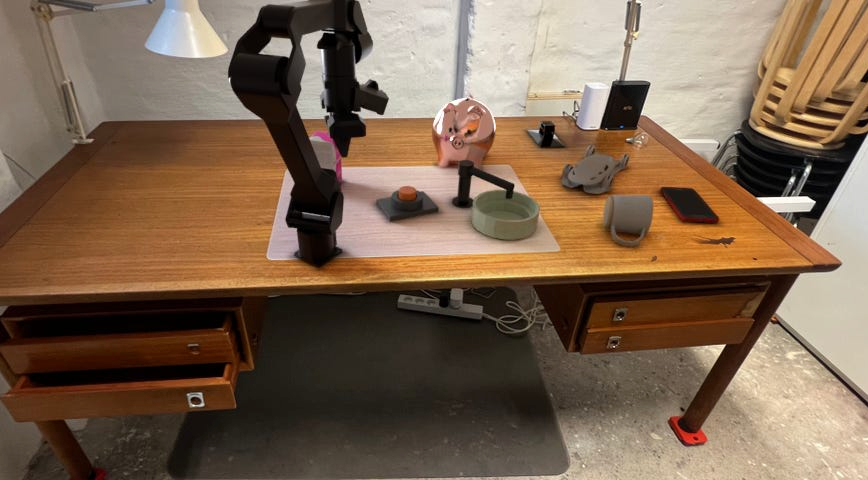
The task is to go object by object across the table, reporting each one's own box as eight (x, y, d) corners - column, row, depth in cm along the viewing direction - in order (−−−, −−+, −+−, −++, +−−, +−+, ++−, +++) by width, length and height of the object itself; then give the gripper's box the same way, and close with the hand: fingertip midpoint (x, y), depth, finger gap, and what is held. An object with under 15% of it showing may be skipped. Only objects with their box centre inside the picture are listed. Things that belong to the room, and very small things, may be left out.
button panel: (389, 221, 103) (389, 209, 102) (376, 204, 109) (376, 191, 108) (438, 212, 107) (439, 199, 105) (422, 195, 113) (423, 183, 111)
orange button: (402, 202, 105) (402, 195, 104) (396, 194, 107) (396, 187, 106) (418, 199, 106) (418, 192, 105) (411, 192, 109) (411, 184, 108)
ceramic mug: (599, 218, 107) (608, 185, 102) (639, 222, 106) (650, 189, 101) (605, 246, 98) (615, 211, 94) (649, 250, 97) (661, 216, 93)
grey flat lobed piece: (629, 166, 129) (635, 147, 126) (599, 202, 113) (604, 182, 110) (587, 155, 134) (591, 136, 131) (552, 188, 118) (556, 168, 115)
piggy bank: (423, 172, 123) (426, 106, 113) (438, 144, 137) (442, 84, 128) (486, 180, 120) (494, 114, 111) (495, 151, 134) (503, 90, 125)
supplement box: (335, 191, 113) (331, 142, 107) (310, 188, 114) (305, 140, 108) (343, 180, 118) (340, 133, 111) (319, 177, 119) (315, 130, 112)
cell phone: (682, 222, 106) (683, 218, 106) (658, 190, 118) (659, 186, 118) (719, 224, 106) (721, 220, 105) (691, 191, 118) (693, 187, 117)
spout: (454, 177, 107) (455, 162, 105) (464, 173, 109) (465, 158, 107) (506, 201, 99) (509, 185, 97) (516, 196, 101) (519, 180, 99)
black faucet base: (466, 210, 108) (469, 182, 104) (447, 204, 110) (449, 176, 106) (477, 202, 111) (480, 174, 108) (458, 195, 113) (461, 168, 110)
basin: (519, 249, 96) (522, 229, 94) (459, 227, 102) (461, 208, 100) (546, 221, 105) (550, 201, 103) (489, 202, 111) (492, 184, 109)
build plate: (526, 131, 147) (529, 115, 145) (550, 131, 148) (553, 115, 145) (540, 147, 137) (543, 131, 134) (566, 147, 138) (569, 130, 135)
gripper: (395, 86, 83) (395, 174, 92) (375, 57, 97) (377, 136, 106) (326, 89, 80) (333, 179, 89) (316, 59, 95) (323, 139, 104)
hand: (344, 156), depth 97 cm, fingers closed
